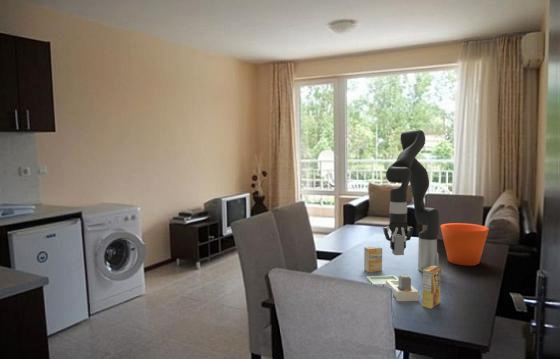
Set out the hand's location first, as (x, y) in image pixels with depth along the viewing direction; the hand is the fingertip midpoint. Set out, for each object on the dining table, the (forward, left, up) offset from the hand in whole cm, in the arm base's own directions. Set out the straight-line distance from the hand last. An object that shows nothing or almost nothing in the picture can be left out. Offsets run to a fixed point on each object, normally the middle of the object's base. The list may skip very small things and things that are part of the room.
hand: (397, 249), depth 184 cm
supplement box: (+3, -30, -19) cm, 36 cm away
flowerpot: (-53, -45, -19) cm, 72 cm away
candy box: (-8, +17, -19) cm, 27 cm away
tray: (+3, -11, -19) cm, 22 cm away
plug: (0, 0, -2) cm, 2 cm away
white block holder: (0, +4, -19) cm, 20 cm away
